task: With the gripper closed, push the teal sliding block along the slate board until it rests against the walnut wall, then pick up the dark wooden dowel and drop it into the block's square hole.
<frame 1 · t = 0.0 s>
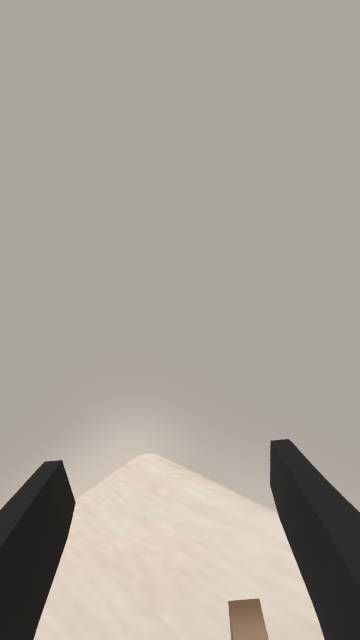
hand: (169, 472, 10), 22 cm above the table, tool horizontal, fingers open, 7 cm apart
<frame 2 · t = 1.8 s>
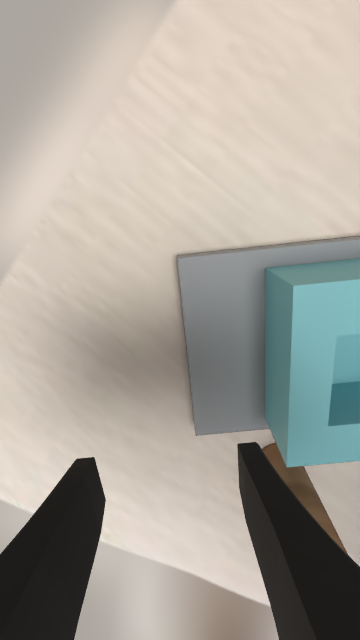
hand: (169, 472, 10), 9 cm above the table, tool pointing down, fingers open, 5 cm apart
walnut dowel: (277, 458, 22), on the table
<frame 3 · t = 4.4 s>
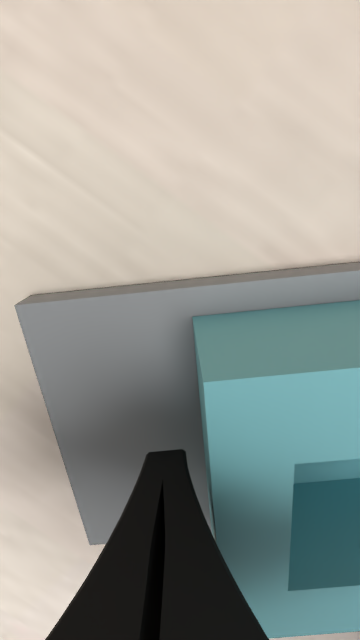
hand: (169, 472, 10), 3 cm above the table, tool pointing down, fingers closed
teal block: (344, 465, 10), point 3 cm above the table, slide at 7.2 cm, touching gripper
slate board: (342, 400, 13), on the table
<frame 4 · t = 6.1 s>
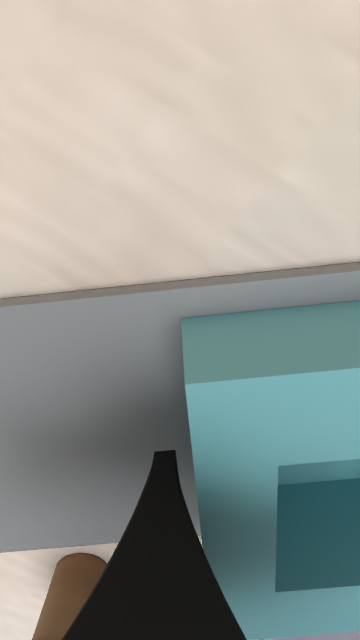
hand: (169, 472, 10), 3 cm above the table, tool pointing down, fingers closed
walnut dowel: (83, 570, 16), on the table
teal block: (332, 466, 10), point 3 cm above the table, slide at 0.0 cm, touching gripper, walnut wall
slate board: (168, 416, 13), on the table
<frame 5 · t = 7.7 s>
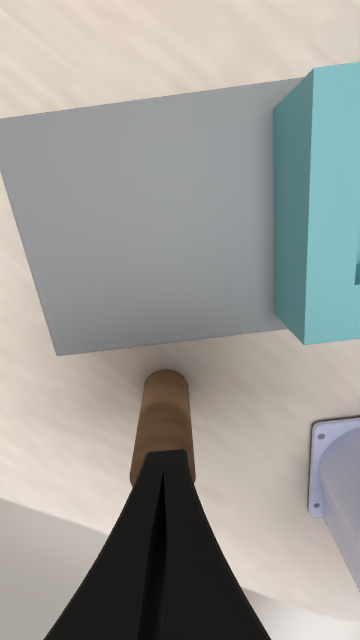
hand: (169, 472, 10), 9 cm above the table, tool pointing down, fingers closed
walnut dowel: (166, 389, 20), on the table
slate board: (249, 224, 16), on the table
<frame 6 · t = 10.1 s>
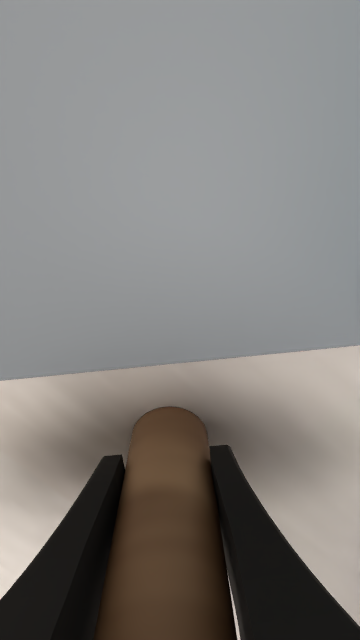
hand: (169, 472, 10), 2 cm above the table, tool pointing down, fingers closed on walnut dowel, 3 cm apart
walnut dowel: (169, 438, 12), on the table, touching gripper
slate board: (346, 129, 8), on the table
when the fingers open (6 cm above the table, at t = 13.5 s): walnut dowel drops 2 cm, resting on teal block.
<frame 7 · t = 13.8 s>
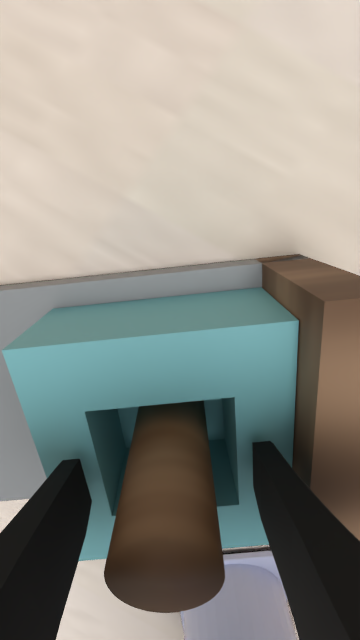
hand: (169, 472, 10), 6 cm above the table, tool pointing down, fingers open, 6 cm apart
walnut dowel: (172, 403, 14), point 2 cm above the table, touching teal block
walnut wall: (274, 371, 15), resting on slate board
teal block: (168, 423, 12), point 3 cm above the table, slide at 0.0 cm, touching walnut dowel
slate board: (68, 391, 16), on the table
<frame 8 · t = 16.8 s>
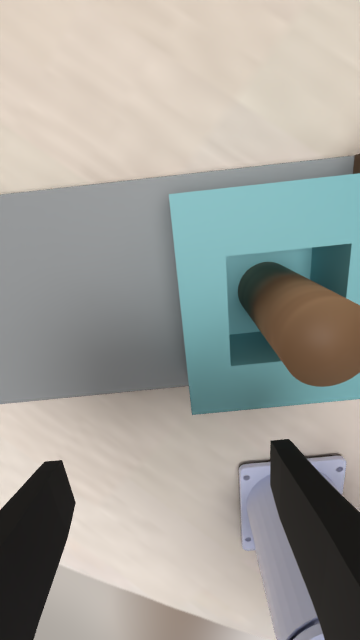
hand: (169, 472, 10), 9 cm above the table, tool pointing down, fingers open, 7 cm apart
walnut dowel: (265, 289, 16), point 2 cm above the table, touching teal block
teal block: (272, 296, 14), point 3 cm above the table, slide at 0.0 cm, touching walnut dowel
slate board: (164, 290, 18), on the table
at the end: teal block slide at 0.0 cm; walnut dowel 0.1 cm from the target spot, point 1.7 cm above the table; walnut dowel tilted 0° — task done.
